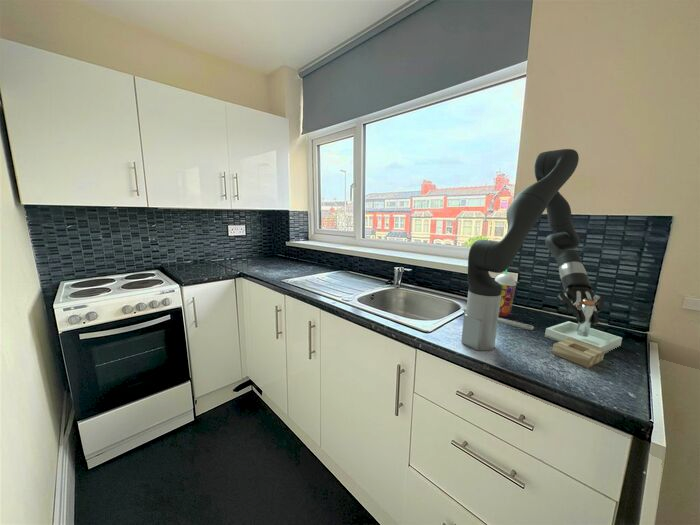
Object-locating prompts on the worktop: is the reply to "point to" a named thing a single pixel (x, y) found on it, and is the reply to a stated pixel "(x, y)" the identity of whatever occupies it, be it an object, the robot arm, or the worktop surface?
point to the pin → (586, 317)
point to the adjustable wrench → (512, 323)
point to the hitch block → (578, 352)
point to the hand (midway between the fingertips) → (588, 322)
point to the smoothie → (506, 293)
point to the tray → (593, 339)
